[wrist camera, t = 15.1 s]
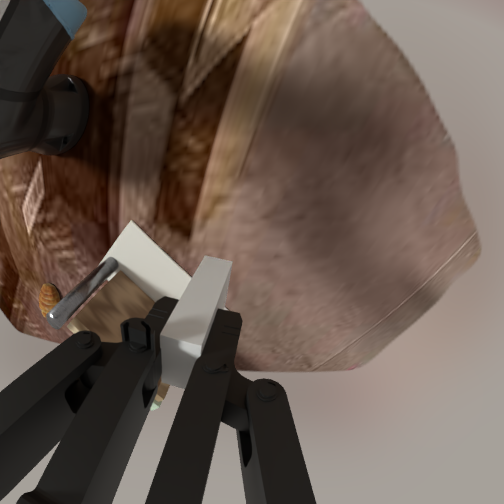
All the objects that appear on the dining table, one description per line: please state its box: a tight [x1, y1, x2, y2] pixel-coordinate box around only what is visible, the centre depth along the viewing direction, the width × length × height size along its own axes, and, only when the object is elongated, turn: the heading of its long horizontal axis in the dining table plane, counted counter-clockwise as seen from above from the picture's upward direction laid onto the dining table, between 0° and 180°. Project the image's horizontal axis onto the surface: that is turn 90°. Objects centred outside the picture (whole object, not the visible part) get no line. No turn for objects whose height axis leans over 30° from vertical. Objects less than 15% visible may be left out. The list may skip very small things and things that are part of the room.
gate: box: [67, 270, 170, 402], centre depth 44 cm, size 18×2×17 cm, turn 44°
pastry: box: [39, 283, 61, 318], centre depth 55 cm, size 9×7×4 cm
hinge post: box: [46, 257, 119, 329], centre depth 41 cm, size 3×3×19 cm
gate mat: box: [99, 220, 229, 311], centre depth 51 cm, size 24×14×1 cm, turn 45°
